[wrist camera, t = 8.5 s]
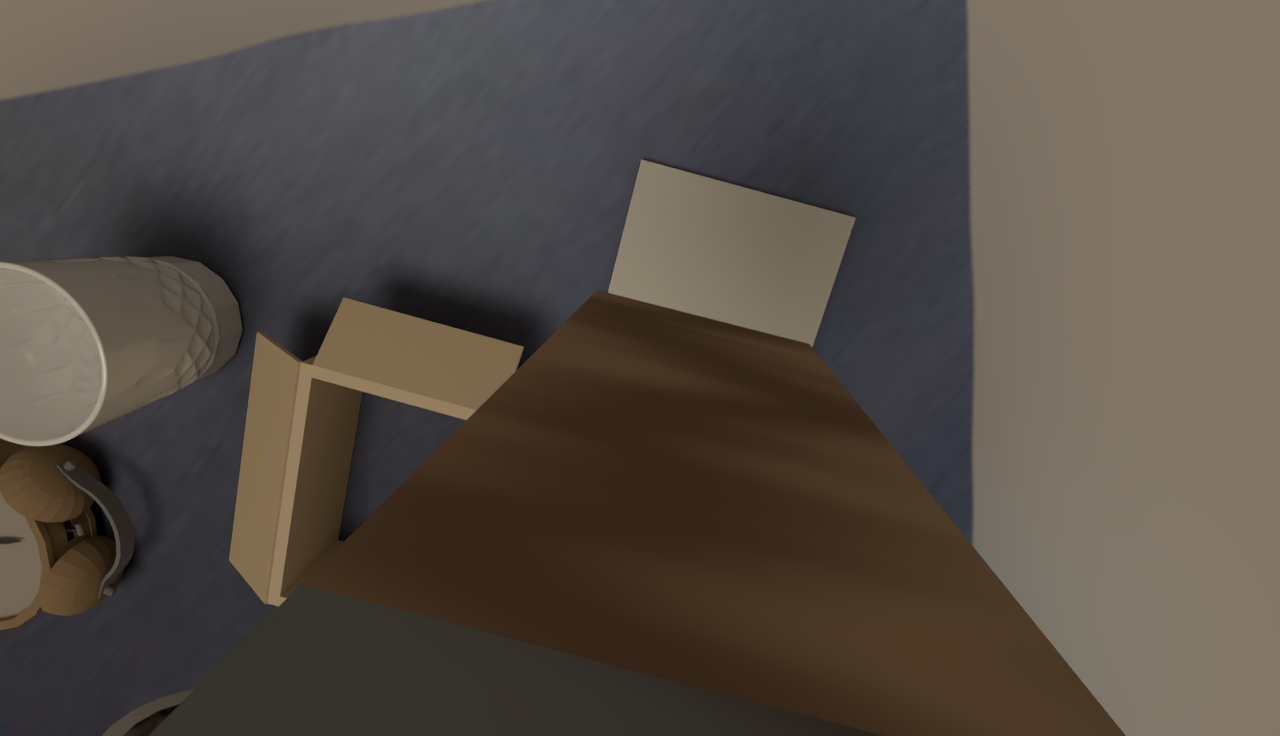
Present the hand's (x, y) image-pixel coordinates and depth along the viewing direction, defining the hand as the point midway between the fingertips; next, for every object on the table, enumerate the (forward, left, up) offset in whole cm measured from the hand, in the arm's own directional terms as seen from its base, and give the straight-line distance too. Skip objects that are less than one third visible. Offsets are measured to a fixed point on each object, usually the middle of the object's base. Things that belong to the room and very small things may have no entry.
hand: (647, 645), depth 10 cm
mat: (-2, -2, -28) cm, 28 cm away
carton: (+11, +12, -28) cm, 32 cm away
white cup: (+26, +7, -28) cm, 39 cm away
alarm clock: (+34, +22, -28) cm, 49 cm away
